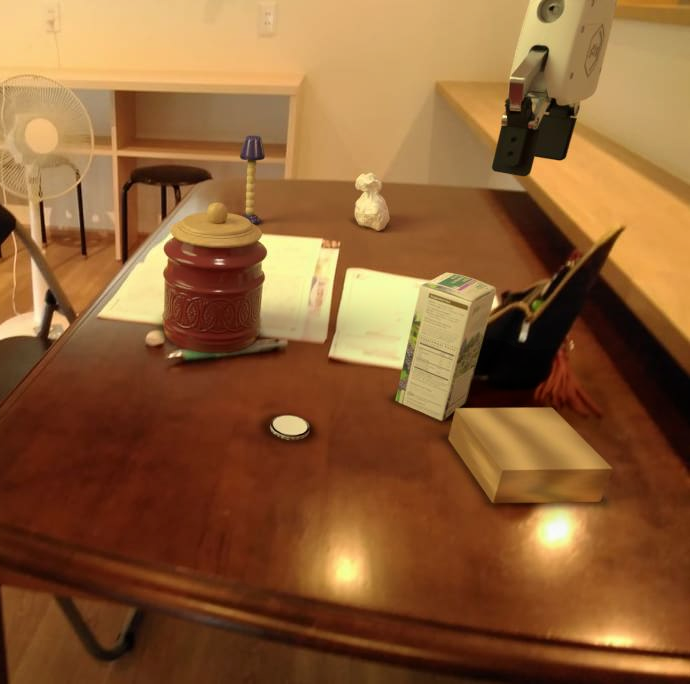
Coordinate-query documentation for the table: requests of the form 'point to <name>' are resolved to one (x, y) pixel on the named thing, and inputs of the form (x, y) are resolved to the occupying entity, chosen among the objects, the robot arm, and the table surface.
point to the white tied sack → (371, 203)
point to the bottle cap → (289, 427)
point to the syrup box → (444, 344)
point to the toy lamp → (251, 172)
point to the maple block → (528, 456)
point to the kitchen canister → (213, 282)
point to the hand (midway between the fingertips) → (529, 165)
